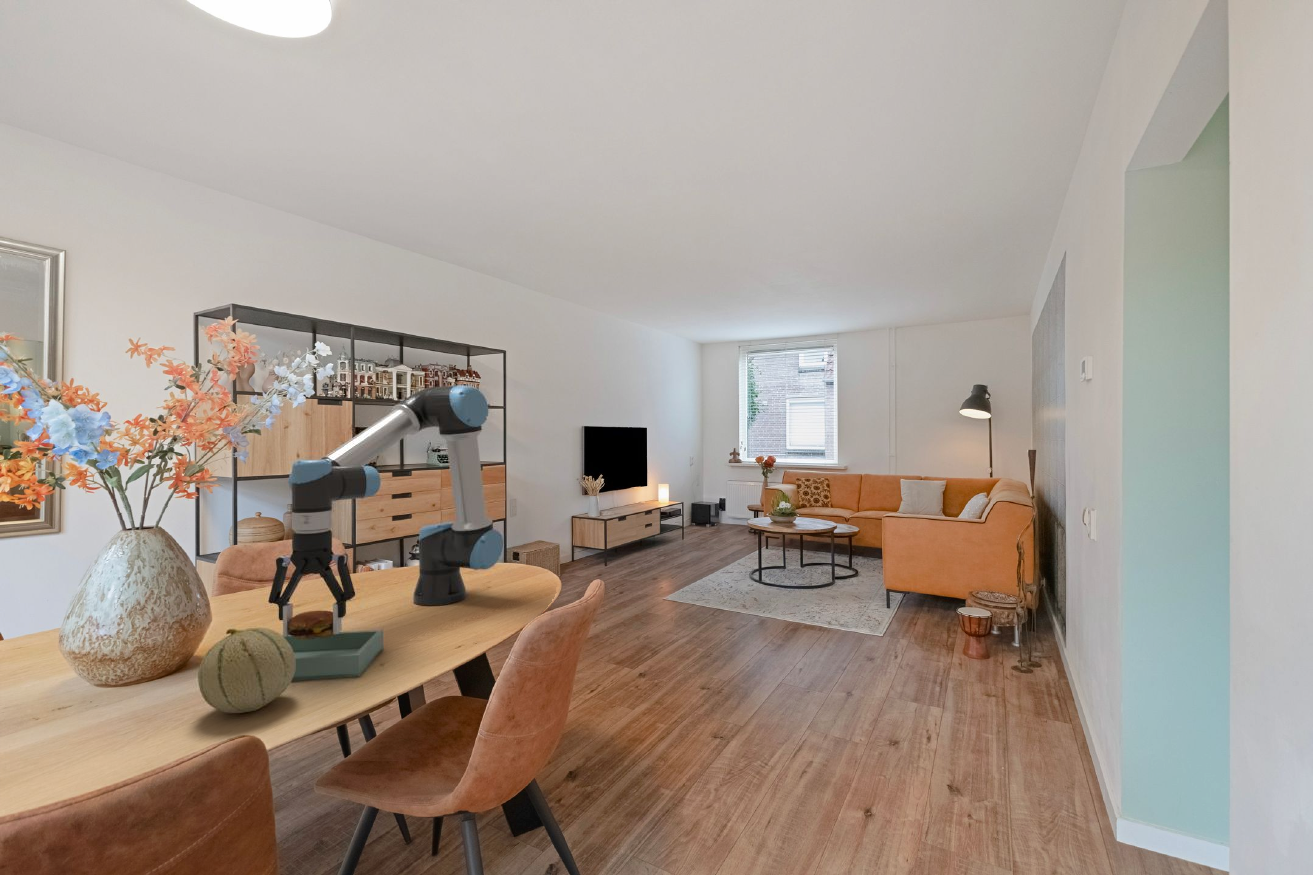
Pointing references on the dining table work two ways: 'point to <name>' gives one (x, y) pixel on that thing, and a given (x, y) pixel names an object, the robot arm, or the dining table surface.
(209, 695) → the cantaloupe
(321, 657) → the teal tray
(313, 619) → the burger
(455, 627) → the dining table surface
